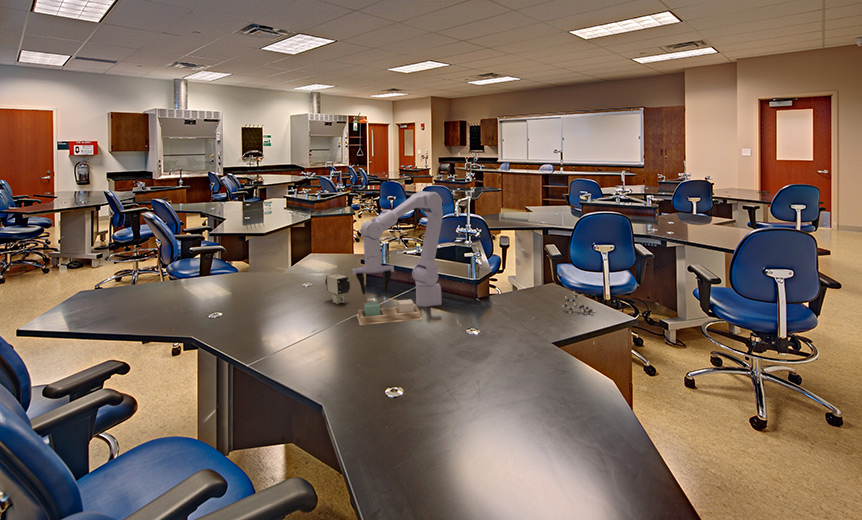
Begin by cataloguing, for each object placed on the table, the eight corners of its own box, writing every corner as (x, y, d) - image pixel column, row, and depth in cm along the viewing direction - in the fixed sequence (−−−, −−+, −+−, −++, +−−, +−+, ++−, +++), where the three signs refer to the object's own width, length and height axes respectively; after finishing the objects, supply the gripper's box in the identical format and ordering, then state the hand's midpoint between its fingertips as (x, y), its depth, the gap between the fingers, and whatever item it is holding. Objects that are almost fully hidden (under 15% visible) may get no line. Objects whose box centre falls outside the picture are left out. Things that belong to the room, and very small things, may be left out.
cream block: (411, 312, 182) (411, 299, 181) (414, 316, 177) (413, 303, 176) (397, 313, 181) (397, 300, 180) (400, 317, 176) (399, 304, 175)
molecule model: (593, 323, 177) (601, 302, 177) (560, 309, 179) (569, 288, 179) (590, 322, 183) (599, 302, 183) (559, 309, 185) (567, 289, 186)
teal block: (378, 315, 180) (378, 301, 179) (380, 319, 175) (379, 305, 174) (364, 316, 178) (364, 303, 177) (366, 320, 174) (365, 307, 173)
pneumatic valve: (341, 306, 195) (339, 277, 193) (325, 301, 204) (324, 272, 201) (353, 304, 199) (351, 274, 196) (337, 298, 207) (336, 270, 205)
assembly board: (416, 312, 186) (416, 304, 185) (423, 322, 175) (423, 313, 174) (356, 317, 181) (356, 309, 181) (360, 328, 170) (359, 319, 169)
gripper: (391, 252, 182) (392, 288, 185) (350, 254, 179) (353, 291, 181) (394, 255, 175) (395, 293, 178) (352, 258, 172) (355, 296, 175)
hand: (374, 292), depth 179 cm, fingers open, 7 cm apart
